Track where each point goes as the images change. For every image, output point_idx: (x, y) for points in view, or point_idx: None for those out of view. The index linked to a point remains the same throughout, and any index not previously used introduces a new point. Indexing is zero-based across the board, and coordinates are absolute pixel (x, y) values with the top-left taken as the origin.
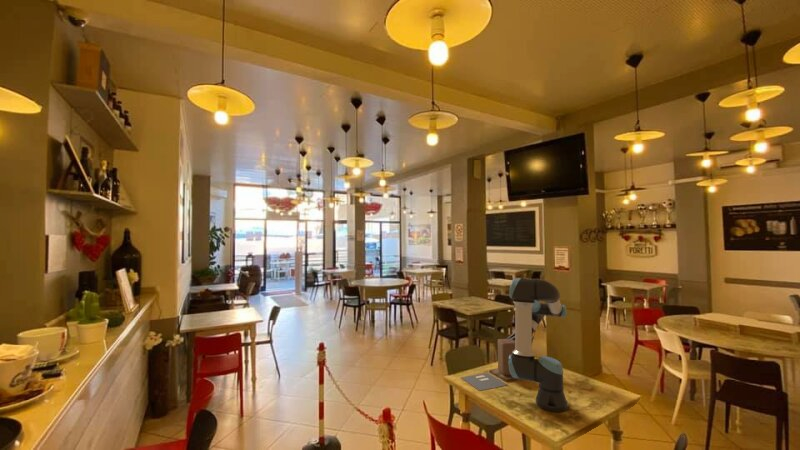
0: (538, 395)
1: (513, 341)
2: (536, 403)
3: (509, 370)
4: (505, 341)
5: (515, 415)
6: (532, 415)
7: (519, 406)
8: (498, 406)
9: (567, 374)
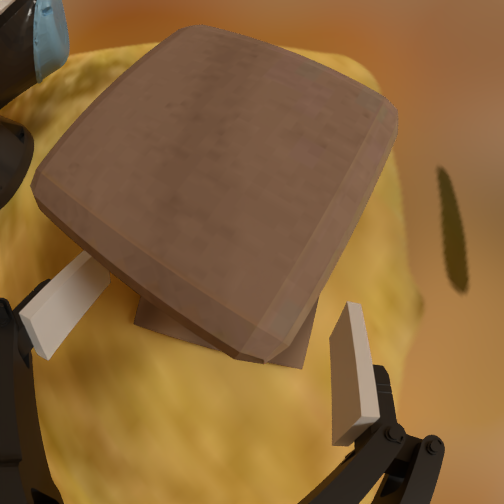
0: (10, 120)
1: (93, 181)
2: (30, 133)
3: (64, 13)
4: (210, 71)
5: (68, 60)
6: (36, 90)
7: (68, 88)
8: (116, 49)
9: (67, 500)
